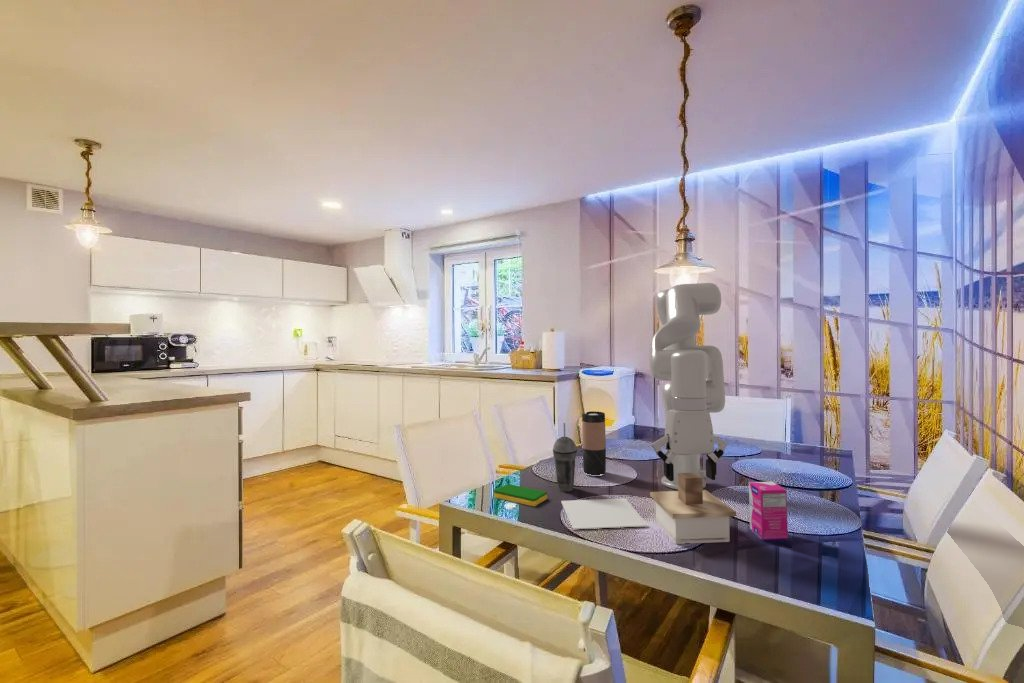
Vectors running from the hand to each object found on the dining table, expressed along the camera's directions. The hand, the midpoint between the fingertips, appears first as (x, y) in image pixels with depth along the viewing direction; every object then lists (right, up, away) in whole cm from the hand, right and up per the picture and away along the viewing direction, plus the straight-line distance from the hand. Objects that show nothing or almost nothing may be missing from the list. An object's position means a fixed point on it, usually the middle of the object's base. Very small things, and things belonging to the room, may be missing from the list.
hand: (690, 478), depth 105 cm
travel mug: (-14, -12, +46) cm, 50 cm away
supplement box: (+17, -12, -3) cm, 21 cm away
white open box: (0, -12, +1) cm, 12 cm away
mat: (-18, -13, +12) cm, 25 cm away
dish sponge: (-39, -14, +25) cm, 48 cm away
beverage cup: (-25, -13, +32) cm, 42 cm away
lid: (0, -6, +1) cm, 6 cm away
